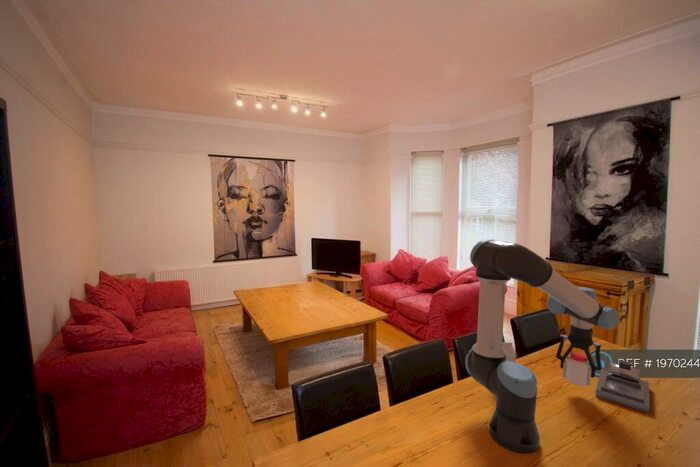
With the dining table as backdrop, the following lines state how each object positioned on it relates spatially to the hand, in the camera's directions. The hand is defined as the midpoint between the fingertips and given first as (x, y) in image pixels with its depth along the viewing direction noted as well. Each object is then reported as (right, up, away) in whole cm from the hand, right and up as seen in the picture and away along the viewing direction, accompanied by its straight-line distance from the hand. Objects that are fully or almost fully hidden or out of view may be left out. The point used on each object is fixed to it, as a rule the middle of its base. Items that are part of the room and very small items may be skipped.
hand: (576, 380), depth 134 cm
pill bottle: (0, -1, 0) cm, 1 cm away
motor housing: (+20, -6, +2) cm, 21 cm away
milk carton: (-27, -5, +7) cm, 29 cm away
